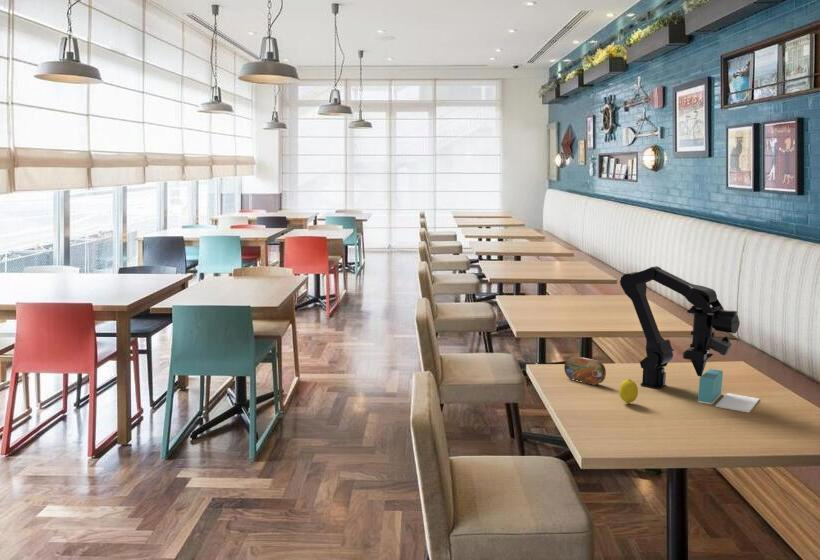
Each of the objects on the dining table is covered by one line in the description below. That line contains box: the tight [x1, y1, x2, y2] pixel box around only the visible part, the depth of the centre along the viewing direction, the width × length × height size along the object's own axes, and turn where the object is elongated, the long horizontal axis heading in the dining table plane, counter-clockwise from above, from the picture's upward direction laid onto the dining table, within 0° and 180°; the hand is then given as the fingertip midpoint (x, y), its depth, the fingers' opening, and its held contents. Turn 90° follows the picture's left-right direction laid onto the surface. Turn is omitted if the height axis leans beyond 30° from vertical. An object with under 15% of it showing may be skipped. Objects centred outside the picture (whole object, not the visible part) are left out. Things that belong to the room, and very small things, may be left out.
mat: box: [715, 392, 760, 414], centre depth 223 cm, size 10×15×1 cm, turn 144°
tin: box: [563, 355, 607, 386], centre depth 244 cm, size 15×3×8 cm, turn 44°
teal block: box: [697, 368, 724, 405], centre depth 227 cm, size 4×12×8 cm, turn 144°
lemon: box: [618, 378, 639, 405], centre depth 221 cm, size 6×6×8 cm
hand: (699, 376), depth 228 cm, fingers closed
